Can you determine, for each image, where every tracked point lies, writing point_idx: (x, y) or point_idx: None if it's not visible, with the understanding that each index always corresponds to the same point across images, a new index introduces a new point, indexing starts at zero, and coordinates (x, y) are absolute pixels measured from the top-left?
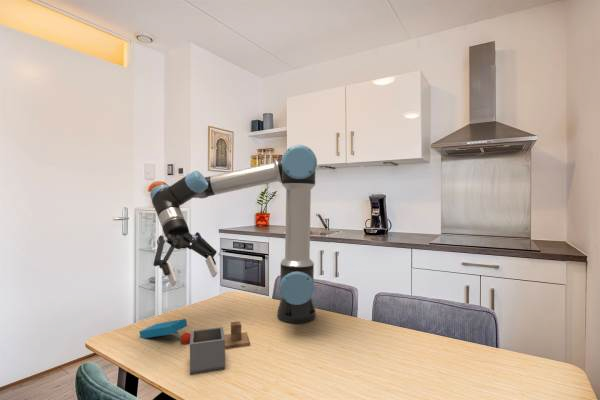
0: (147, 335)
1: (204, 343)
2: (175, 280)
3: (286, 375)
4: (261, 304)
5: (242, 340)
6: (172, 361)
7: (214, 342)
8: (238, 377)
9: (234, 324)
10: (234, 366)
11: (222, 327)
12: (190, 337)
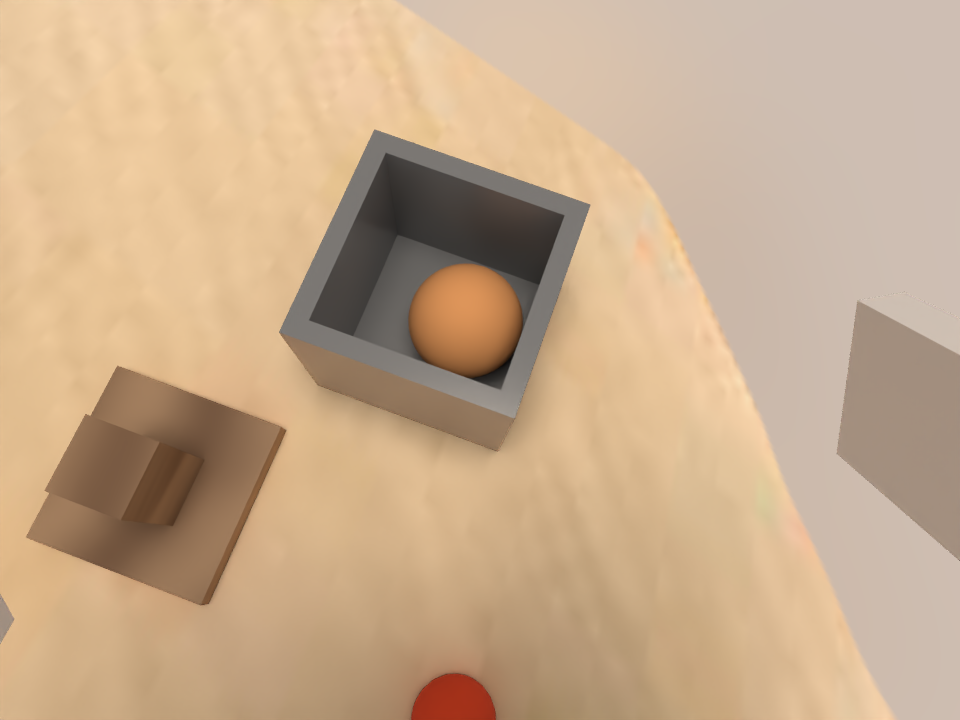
0: None
1: (500, 177)
2: (897, 302)
3: (183, 9)
4: None
5: (138, 426)
6: (602, 483)
7: (439, 155)
8: (370, 124)
9: (126, 451)
10: None
11: (287, 323)
12: (430, 685)
